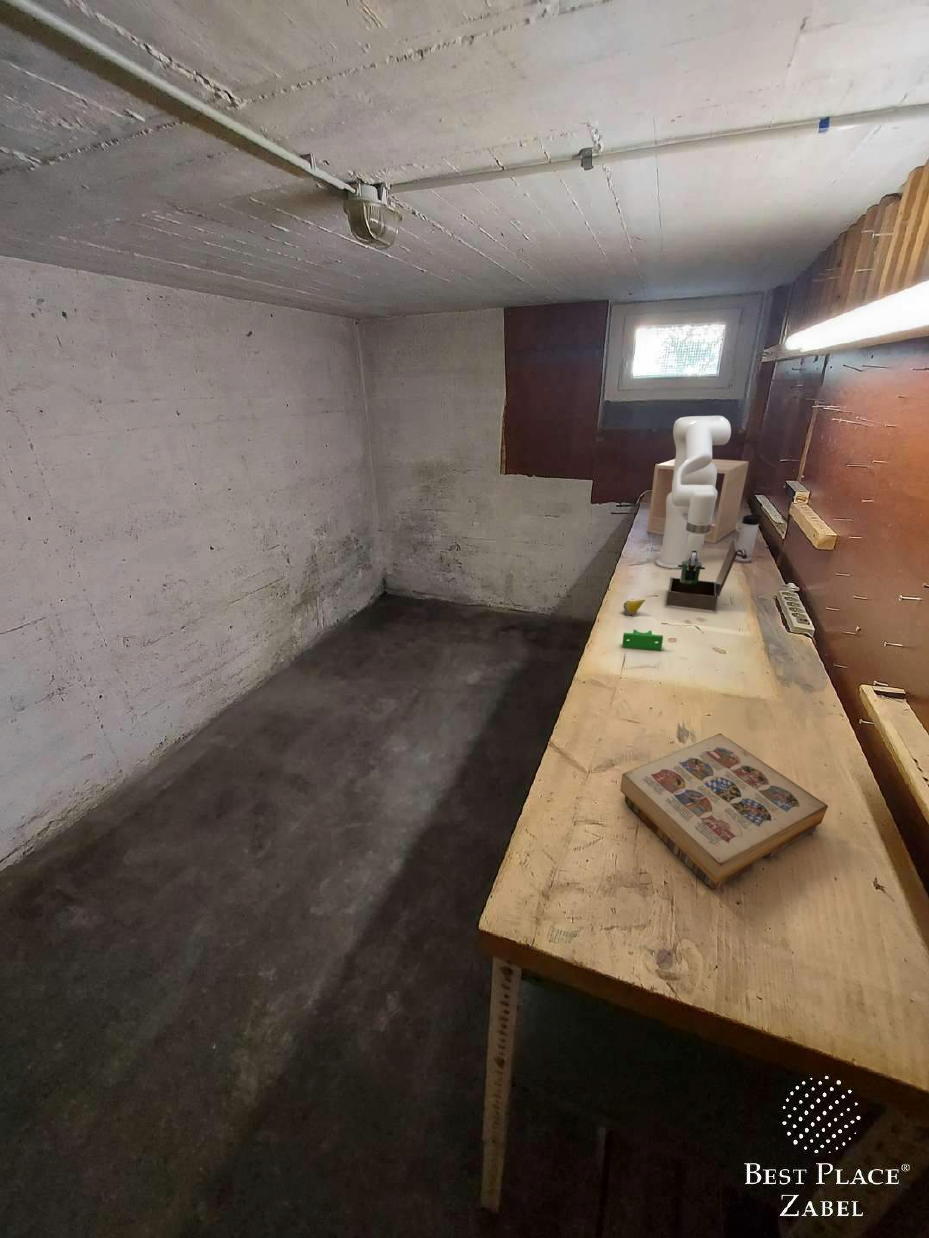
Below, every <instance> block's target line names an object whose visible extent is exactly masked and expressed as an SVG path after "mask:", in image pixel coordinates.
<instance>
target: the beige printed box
mask: <svg viewBox="0 0 929 1238" xmlns="http://www.w3.org/2000/svg"><path fill="white" fill-rule="evenodd" d="M619 791H620V792H621V793H622V794H624V802H625V804H627V806H628V807H629V808H630V809H631V810H632V811H633V812H634V813H636V815H637V816H638V818H639V819H640V820H641V821H643V822H644V823H645V824H646V825H647V826H648V827H649V828H650V829H651V830H652V831H653V832H654V833H655V835H657V836H658V837H659V839H661V840H662V841H663V842H664V843H665V844H666V845H667V846H668V847H669V848H668V849H669V850H670V851H671V852H672V853H673V854H674V855H675V856H676V857H677V858H678V859H679V860H681V861H682V862H683V863H684V864H685V865H686V867H688V868H689V869H690V870H691V871H692V872H693V873H694V874H695V876H696V877H698V878H699V879H700V880H701V881H702V882H703V883H704V884H706V885H707V886H709V887H710V888H711V889H713V891H715V890H717V889H720V888H721V887H723V886H724V885H725V884H728V883H730V882H731V881H733V880H734V879H736V878H738V877H739V876H741V875H743V874H745V873H746V872H748V871H749V870H750V868H751V866H752V865H751V864H752V863H754V862H757V861H758V860H759V859H761V858H763V857H767V858H772V857H773V856H775V855H777V854H779V852H781V851H783V850H784V849H787V847H789V846H792V844H794V843H795V842H797V841H799V840H801V839H803V838H804V837H807V836H808V835H809V834H811V833H814V832H815V831H816V828H817V826H819V825H821V824H822V823H823V820H824V818H825V815H826V812H827V810H828V808H829V805H828V804H826V803H825V802H824V801H822V800H820V799H819V798H817V797H816V796H815V795H813V794H812V793H810V792H808V791H807V790H806V789H804V788H803V787H801V786H799V785H798V784H797V783H795V782H794V781H792V780H791V779H789V778H788V777H787V776H785V775H783V774H782V773H781V772H779V771H778V770H776V769H774V768H773V767H771V766H770V765H768V764H767V763H765V762H764V761H762V760H761V759H760V758H758V757H757V756H755V755H754V754H752V753H750V752H749V751H748V750H747V749H745V748H743V747H742V746H740V745H739V744H737V743H735V742H734V741H733V740H731V739H730V738H728V737H727V736H725V735H724V734H722V733H717V734H715V735H713V736H710V737H708V738H704V739H702V740H699V741H697V742H694V743H691V744H689V745H687V746H684V747H682V748H680V749H677V750H675V751H673V752H670V753H668V754H666V755H663V756H660V757H658V758H656V759H653V760H650V761H648V762H647V763H645V764H642V765H641V766H638V767H635V768H633V769H631V770H627V771H626V772H623V773H622V774H621V781H620V789H619Z"/></svg>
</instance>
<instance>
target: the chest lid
mask: <svg viewBox="0 0 929 1238" xmlns="http://www.w3.org/2000/svg"><path fill="white" fill-rule="evenodd" d="M737 544H738V540H737V538H735V537H734V538H733V539H732V541H731V543H730V546H729V549H728V551H727V553H726V556H725V557H724V560H723V563H722V565H721V567H720V570H719V572H718V575H717V577H716V579H715V582H716V593H717V597H720V596H721V593H722V591H723V588H724V586H725V583H726V581H727V579H728V576H729V574H730V572H731V570H732V567H733V565H734V563H735V558H736V556H739V557H742V559H746V558H747V553H746V550H745V549H742V550H739V549H738V547H737ZM738 552H741V554H738Z"/></svg>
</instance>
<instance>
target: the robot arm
mask: <svg viewBox="0 0 929 1238" xmlns="http://www.w3.org/2000/svg"><path fill="white" fill-rule="evenodd" d="M731 435H732V427H731V423H730V421H729V420H728V419H727V418H726V417H724V416H723V415H693V416H683V417H679V418H677V419H676V420H675V421H674V424H673V429H672V436H673V442H674V445H675V446H674V447H675V458H674V459H675V465H674V474H673V481H672V492H671V493H669V494H668V496H667V498H666V522H665V529H664V535H663V536H662V537H663V538H662V543H661V544H662V545H661V549H660V550H659V551H657V552H656V555H659V557H658V558H657V559H656V560H655V563H656V565H657V566H660V567H662V568H665V569H671V570H672V569H675V570H676V569H677V570H679V569H682V567H678V565H682V561H685V562H686V561H688V566H687V569H686V573H685V580H688V581H694V580H695V574H696V565H697V563H698V562H700V560H701V557H702V553H703V549H704V544H705V542H704V539H705V535H706V534H709V533H710V528H711V523H712V522H713V518H714V512H715V506H716V502H717V500H718V490H717V488H716V484H717V483H716V482H717V477H718V473H717V468H716V465H715V464H713V463H711V461H712V459H713V446H724V445H726V444H728V443H729V441H730V440H731V439H730V438H731ZM685 515H687V517H686V516H685ZM712 524H713V523H712ZM690 560H691V561H690ZM690 563H691V564H690ZM689 564H690V565H689ZM694 564H695V565H694Z"/></svg>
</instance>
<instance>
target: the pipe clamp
mask: <svg viewBox="0 0 929 1238" xmlns="http://www.w3.org/2000/svg"><path fill="white" fill-rule="evenodd" d="M652 632H653V631H652V630H648V631H647V632H640V631H638V630H637V629H632V632H623V634H622V644H621V646H622V648H628V649H640V650H653V651H662V647H663V641H664V635H663V634H653V633H652Z"/></svg>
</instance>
